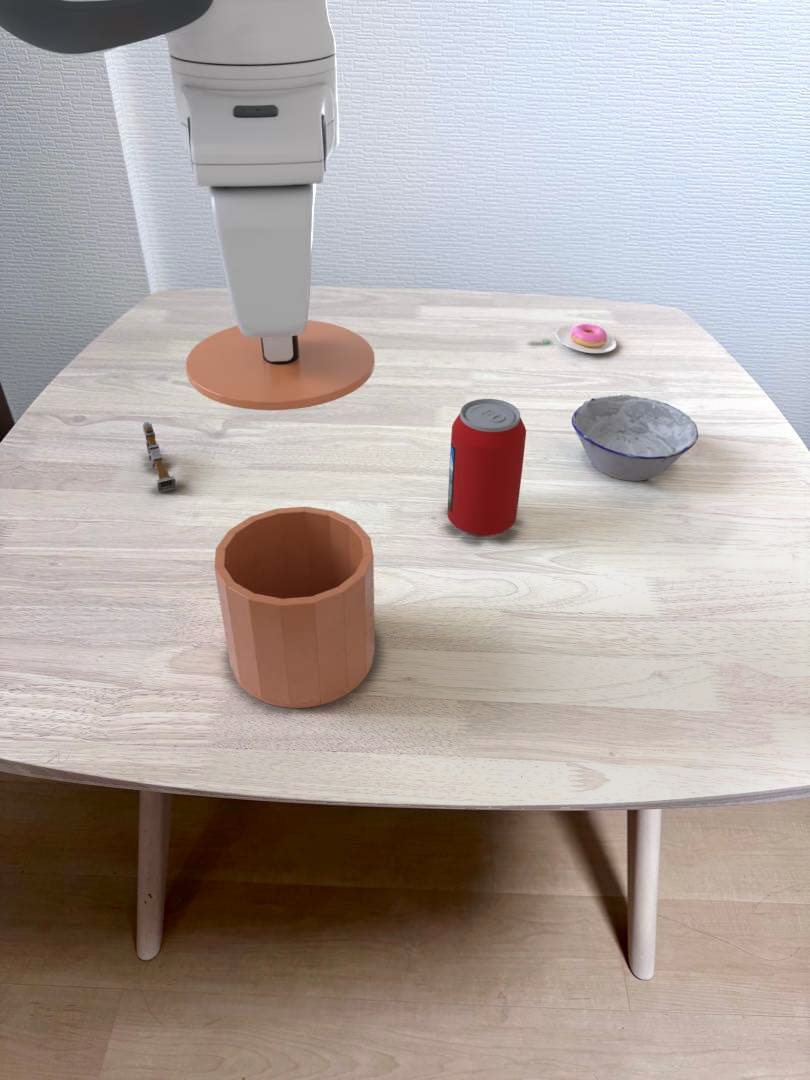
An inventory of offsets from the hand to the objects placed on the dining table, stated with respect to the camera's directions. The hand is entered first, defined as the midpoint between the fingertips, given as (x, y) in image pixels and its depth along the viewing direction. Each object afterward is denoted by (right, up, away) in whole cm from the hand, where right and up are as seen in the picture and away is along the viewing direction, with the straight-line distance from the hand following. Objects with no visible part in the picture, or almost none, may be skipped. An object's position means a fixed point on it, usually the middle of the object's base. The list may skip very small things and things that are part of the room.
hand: (279, 344), depth 56 cm
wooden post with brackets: (-18, -6, +33) cm, 38 cm away
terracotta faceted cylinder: (0, -22, +13) cm, 25 cm away
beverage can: (+16, -11, +27) cm, 34 cm away
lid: (0, -1, +1) cm, 2 cm away
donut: (+31, +13, +60) cm, 69 cm away
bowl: (+32, -4, +37) cm, 49 cm away
